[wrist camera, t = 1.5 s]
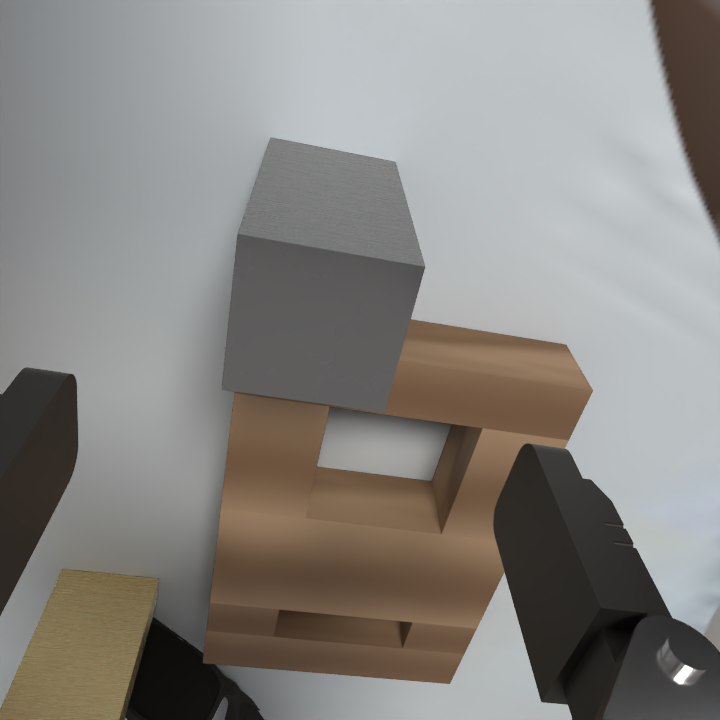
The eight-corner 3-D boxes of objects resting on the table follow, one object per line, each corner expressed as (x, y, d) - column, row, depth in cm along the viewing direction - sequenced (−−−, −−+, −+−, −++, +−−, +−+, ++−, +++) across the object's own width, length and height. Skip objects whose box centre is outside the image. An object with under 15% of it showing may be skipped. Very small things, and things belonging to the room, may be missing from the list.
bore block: (251, 293, 23) (241, 336, 20) (566, 344, 24) (592, 390, 22) (213, 607, 32) (202, 663, 30) (441, 628, 34) (449, 683, 31)
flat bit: (62, 569, 30) (-16, 745, 24) (158, 578, 31) (109, 753, 24) (63, 589, 31) (-12, 765, 24) (157, 598, 32) (109, 772, 25)
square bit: (270, 137, 20) (237, 233, 13) (395, 161, 20) (425, 266, 14) (256, 254, 22) (221, 389, 15) (369, 274, 22) (384, 412, 16)
